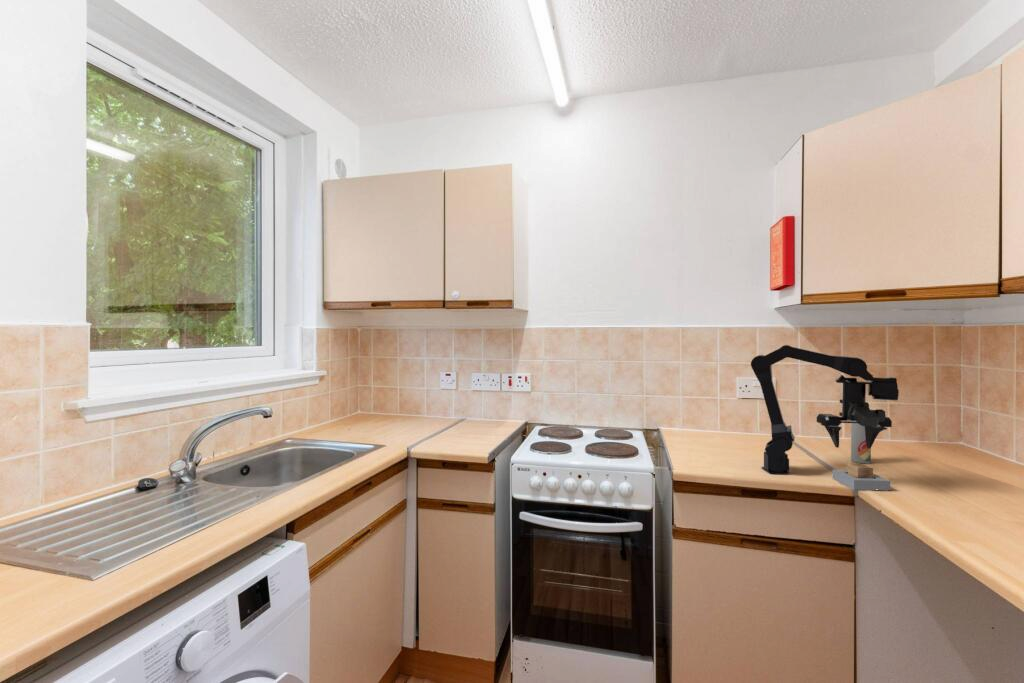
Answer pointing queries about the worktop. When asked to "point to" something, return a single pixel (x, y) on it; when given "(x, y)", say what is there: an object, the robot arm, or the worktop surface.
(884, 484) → the socket block
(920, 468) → the worktop surface
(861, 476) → the peg
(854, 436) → the lotion bottle
